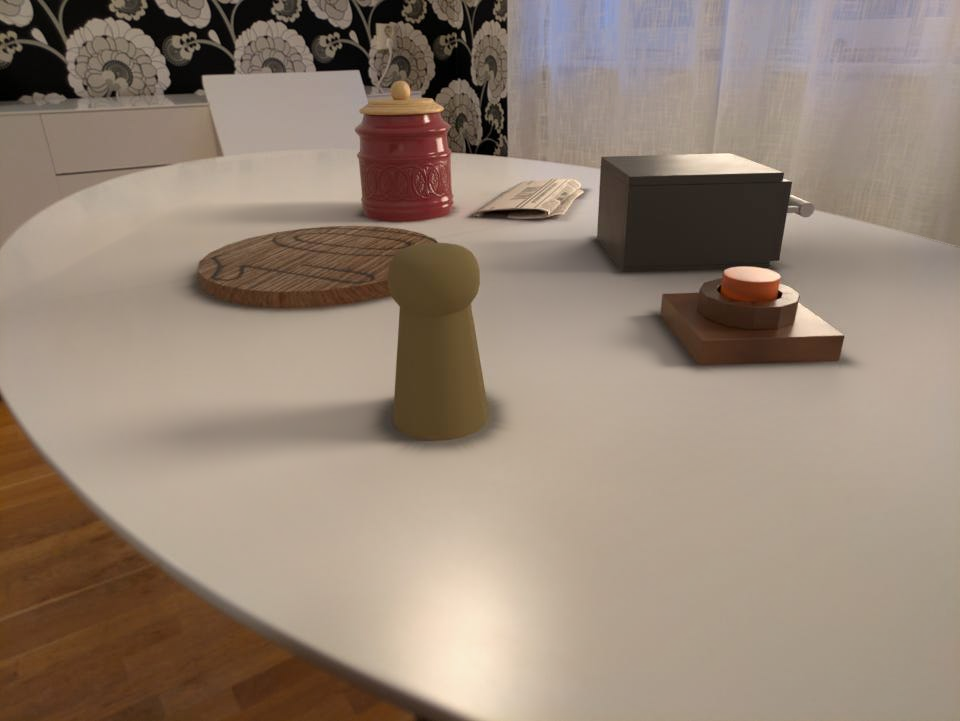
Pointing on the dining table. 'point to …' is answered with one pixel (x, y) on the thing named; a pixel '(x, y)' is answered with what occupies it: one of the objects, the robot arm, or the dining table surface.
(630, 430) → the dining table surface
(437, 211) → the kitchen canister
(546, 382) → the dining table surface
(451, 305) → the olive game pawn
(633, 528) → the dining table surface
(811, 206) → the dark piece
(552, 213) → the newspaper
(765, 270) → the button
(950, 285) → the dining table surface
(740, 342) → the control block
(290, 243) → the trivet
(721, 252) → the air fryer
